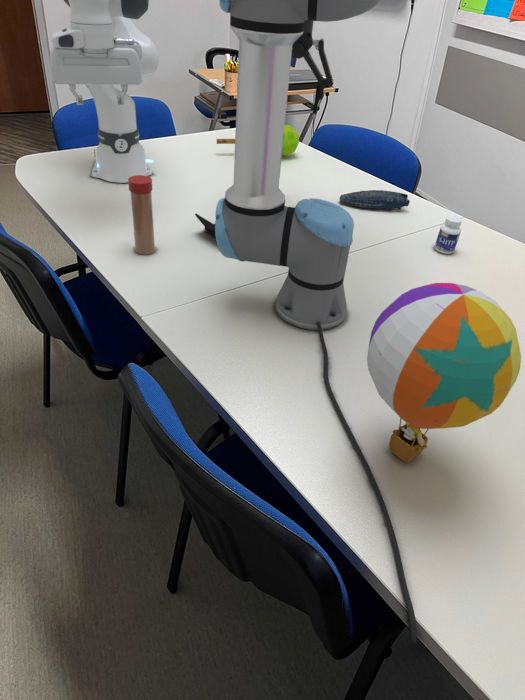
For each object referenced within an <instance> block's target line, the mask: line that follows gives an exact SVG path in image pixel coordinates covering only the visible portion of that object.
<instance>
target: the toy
mask: <svg viewBox="0 0 525 700" xmlns="http://www.w3.org/2000/svg"><path fill="white" fill-rule="evenodd" d="M367 347H368V348H367V354H366V355H367V356H366V362H367V370H368V372H369V375H370V377H371V379H372V380H371V381H372V382H373V385H374V387H375V389H376V391H377V394H378V395H379V397H381V399H382V401H384V402H385V403H386V405H387V406H388V407H389V408H390V409H391V410H392V411H393V412H394V413H395V414H396V415H397V416H398V417H399V418H400V419H399V425H398V428H397V429H393V430H392V434H391V436H390V440H389V444H388V449H389V451H390V453H392V454H394V455H395V456H396V457H397V458H399V460H401V461H402V462H404V463H405V464H409V463H410V462H412V461H413V460H414V459H415V458H417V457H418V456H419V455H420V454H421V453H423V451H424V449H427V447H428V440H429V438H428V437H427V436H426V434H427V433H428V431H429V430H437V429H453V428H461V427H466V426H467V425H469V424H472V423H475V422H477V421H478V420H481V419H483V418H485V417H487V416H489V415H492V413H494V412H495V411H496V410H497V409H498V408H500V407H501V405H502V404H503V402H504V401H505V399H506V398H507V396H508V395H509V394H510V391H512V388H513V387H514V385H515V383H516V382H517V379H518V376H519V373H520V371H521V362H522V354H521V349H520V343H519V338H518V333H517V329H516V327H515V324H514V323H513V321H512V319H511V317H510V316H509V315H508V314H507V312H506V311H505V310H504V309H503V307H502V306H500V304H499V303H498V302H497V301H496V300H495V299H493V298H491V297H490V296H489V295H487V294H485V293H484V292H483V291H481V290H478V289H475V288H473V287H470V286H467V285H464V284H458V283H453V282H434V283H429V284H424V285H421V286H418V287H414V288H411V289H409V290H407V291H405V292H403V293H402V294H401V295H399V296H398V297H397V298H396V299H394V301H393V302H392V303H390V304H389V305H388V306H387V307H386V308H385V309H383V310H382V311H381V313H380V314H379V315H378V317H377V319H376V320H375V321H374V324H373V327H372V330H371V332H370V338H369V342H368V346H367ZM402 420H403V421H404V422H405V423H404V424H403V425H402ZM421 429H422V430H426V431H425V432H424V433H423V432H422V430H421Z"/></svg>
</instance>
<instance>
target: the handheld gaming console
mask: <svg viewBox="0 0 525 700" xmlns="http://www.w3.org/2000/svg"><path fill="white" fill-rule="evenodd" d="M194 215H195V217H196V218H197V220H199V222H200V223H201V225H202V226H203V227H204V231H206V232H207V233H209V234H211V235H212V236H214V237H216V235H215V223H213V222H211V221H209V220H208V219H206V218H205V217H203V216H201V215H200V214H197V213H195V214H194Z"/></svg>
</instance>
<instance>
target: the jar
mask: <svg viewBox="0 0 525 700" xmlns="http://www.w3.org/2000/svg"><path fill="white" fill-rule="evenodd" d="M129 193H130V201H131V213H132V215H131V216H132V225H133V237H134V248H135V252H136V253H137V254H138V255H142V256H143V255H145V256H148V255H151V254H154V252H155V251H156V245H155V230H154V229H155V228H154V227H155V226H154V213H153V210H154V209H153V196H152V191H151V192H149V193H145V194H136V193H132V192H131V191H129Z"/></svg>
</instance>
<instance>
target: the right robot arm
mask: <svg viewBox="0 0 525 700" xmlns="http://www.w3.org/2000/svg"><path fill="white" fill-rule="evenodd" d="M218 1H219V6H220V7H219V8H220V10H222V11H223V12H224V13H226V14H230V15H229V17H230V20H229V27H230V29H231V30H232V31H233V33H234V35H235V36H236V37H237V39H238V57H237V58H238V59H237V60H238V62H237V85H236V86H237V87H236V110H235V111H236V112H235V136H234V139H235V144H234V159H233V160H234V161H233V162H234V163H233V166H234V167H233V184H232V185H231V186H229V188H227V189H226V190H225V191H224V197H222V198H220V199H218V201H217V204H216V208H215V220H214V224H215V235H216V236H215V240H216V241H215V242H216V245H217V248H218V251H219V252H220V254H221V255H222V256H223V257H225V258H227V259H232V260H237V261H239V262H249V263H258V264H265V265H270V266H271V265H272V266H279V267H287V268H288V270H287V271H288V272H287V275H286V278H285V279H284V282H283V283H282V285H281V287H280V290H279V291H278V294H277V296H276V301H275V311H276V313H277V315H278V316H279V317H280V318H281V319H282V320H283V321H284V322H286V323H287V324H289V325H291V326H293V327H296V328H300V329H304V330H310V331H318V336H319V341H320V344H321V345H320V346H321V348H322V352H323V354H322V355H323V378H324V384H325V389H326V391H327V393H328V395H329V398H330V400H331V402H332V405H333V407H334V409H335V411H336V413H337V415H338V417H339V420H340V422H341V424H342V426H343V428H344V430H345V432H346V433H347V436H348V437H349V440H350V441H351V444H352V446H353V448H354V450H355V451H356V453H357V456H358V458H359V460H360V462H361V464H362V467H363V468H364V470H365V472H366V474H367V477H368V479H369V481H370V484H371V486H372V488H373V491H374V493H375V496H376V499H377V501H378V504H379V507H380V510H381V512H382V513H381V514H382V516H383V519H384V521H385V522H384V523H385V525H386V528H387V532H388V536H389V539H390V543H391V547H392V551H393V555H394V556H393V557H394V561H395V565H396V570H397V576H398V578H399V584H400V588H401V592H402V597H403V600H404V603H405V607H406V611H407V616H408V623H409V639H410V641H411V642H412V643H413V644H416V643H417V641H418V631H417V620H416V614H415V609H414V606H413V602H412V599H411V595H410V591H409V588H408V584H407V580H406V574H405V571H404V565H403V562H402V561H403V560H402V556H401V553H400V548H399V545H398V540H397V537H396V533H395V530H394V527H393V524H392V520H391V516H390V514H389V511H388V507H387V505H386V503H385V500H384V497H383V495H382V492H381V490H380V488H379V485H378V483H377V481H376V478H375V476H374V474H373V471H372V470H371V468H370V465H369V463H368V462H367V460H366V457H365V455H364V453H363V451H362V449H361V448H360V447H361V446H360V445H359V444H358V442H357V439H356V438H355V435H354V434H353V432H352V430H351V427H350V426H349V424H348V422H347V420H346V418H345V416H344V413H343V412H342V410H341V407H340V405H339V404H338V401H337V399H336V397H335V394H334V392H333V390H332V386H331V383H330V378H329V354H328V348H327V345H326V341H325V337H324V334H323V333H324V332H323V331H324V330H325V331H326V330H329V329H333V328H336V327H337V326H339V325H340V324H342V323H343V322H344V320H345V318H346V315H347V310H348V309H347V308H348V307H347V306H348V305H347V297H346V292H345V286H344V280H345V275H346V271H347V267H348V266H347V264H348V260H349V254H350V250H351V249H350V248H351V246H352V244H353V242H354V239H353V236H354V235H353V234H354V228H355V223H354V219H353V217H352V215H351V214H350V213H349V212H348V211H347V210H346V209H345V208H343V206H342V207H341V206H340V205H338V204H336V203H334V202H331V201H329V200H326V199H320V198H312V197H311V198H309V199H308V198H304V199H301V200H299V201H298V202H297V203H296V205H295V206H294V207H293V206H286V195H285V193H284V192H283V191H282V190H281V189H280V188H279V187H280V178H281V177H280V176H281V167H282V157H283V156H282V148H283V138H284V127H285V125H286V118H287V117H286V115H287V105H288V94H289V84H290V74H291V63H292V58H295V59H297V60H301V59H304V61H305V62H306V64H307V65H308V67H309V68H310V70H311V72H312V74H313V76H314V77H315V79H316V81H317V82H318V83H316V87H315V94H314V102H313V109H312V114H314V115H316V114H317V112H318V104H319V100H323V98H324V92H325V86H327V85H331V84H332V83H333V75H332V72H331V69H330V65H329V61H328V58H327V55H326V50H325V39H324V38H319V39H313V30H314V22H324V23H325V22H327V23H328V22H339V21H343V20H344V21H345V20H349V19H351V18H355V17H358V16H360V15H363V14H365V13H367V12H369V11H370V10H371V9H374V8H375V7H376V6H377V5H378V4H379V3H380V2H381V0H218ZM313 46H314V48H315V50H316V51H318V56H319V58H320V62H321V66H322V69H323V73H324V76H325V77H324V76H323V74H322V73H321V71H320V69H319V67H318V65H317V64H316V62H315V60H314V59H313V57H312V54H311V52H310V51H309V50H311V48H312V47H313Z"/></svg>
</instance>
